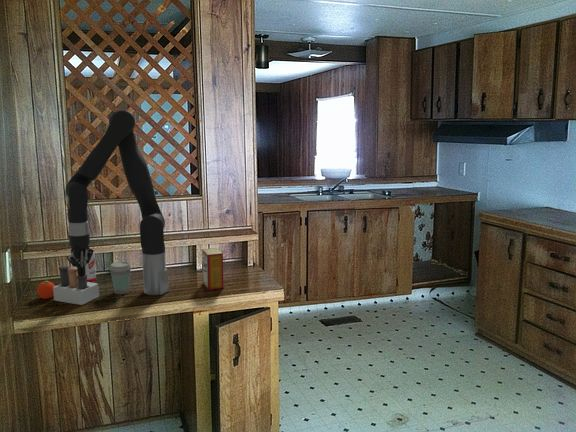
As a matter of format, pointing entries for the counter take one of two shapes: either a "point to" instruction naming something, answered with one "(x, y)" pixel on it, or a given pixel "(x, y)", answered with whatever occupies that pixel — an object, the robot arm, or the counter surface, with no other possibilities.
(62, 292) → the block
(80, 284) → the black plug
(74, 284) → the terracotta plug
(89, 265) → the white red carton
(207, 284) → the baking soda box
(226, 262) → the counter surface
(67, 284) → the black plug
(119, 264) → the coffee cup
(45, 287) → the clementine
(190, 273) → the counter surface
